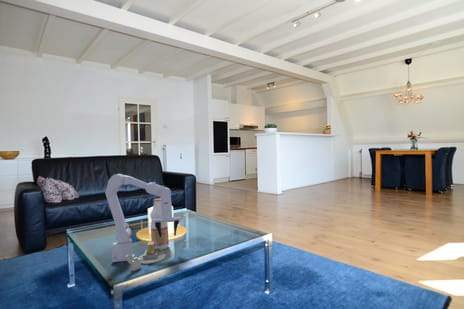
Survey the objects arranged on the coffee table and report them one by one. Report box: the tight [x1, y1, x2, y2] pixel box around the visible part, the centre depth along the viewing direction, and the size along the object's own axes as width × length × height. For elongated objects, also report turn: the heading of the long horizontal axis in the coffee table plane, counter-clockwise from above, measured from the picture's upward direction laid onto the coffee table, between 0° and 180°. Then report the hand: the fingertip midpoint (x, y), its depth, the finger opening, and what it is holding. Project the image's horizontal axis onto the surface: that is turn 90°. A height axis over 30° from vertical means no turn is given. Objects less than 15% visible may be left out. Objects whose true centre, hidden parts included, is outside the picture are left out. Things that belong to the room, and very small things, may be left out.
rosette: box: [138, 249, 167, 265], centre depth 142 cm, size 14×14×4 cm
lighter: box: [125, 254, 142, 272], centre depth 129 cm, size 7×2×8 cm, turn 144°
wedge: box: [146, 241, 155, 254], centre depth 142 cm, size 3×5×7 cm, turn 6°
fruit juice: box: [150, 197, 170, 251], centre depth 160 cm, size 9×9×28 cm
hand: (167, 235), depth 149 cm, fingers open, 7 cm apart
